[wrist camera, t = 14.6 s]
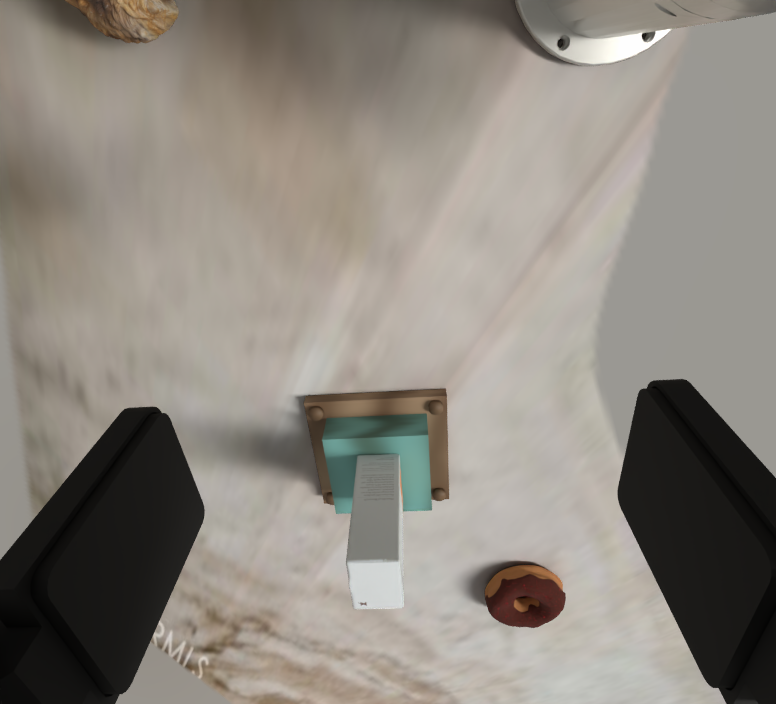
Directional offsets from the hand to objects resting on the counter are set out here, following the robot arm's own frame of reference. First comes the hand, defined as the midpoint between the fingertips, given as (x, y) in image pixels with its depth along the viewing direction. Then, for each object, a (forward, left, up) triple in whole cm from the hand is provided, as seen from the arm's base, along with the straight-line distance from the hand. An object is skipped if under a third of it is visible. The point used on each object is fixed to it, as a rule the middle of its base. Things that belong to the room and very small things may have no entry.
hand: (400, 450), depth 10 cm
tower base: (+4, +28, -32) cm, 43 cm away
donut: (-12, +52, -33) cm, 63 cm away
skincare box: (+4, +28, -28) cm, 40 cm away
